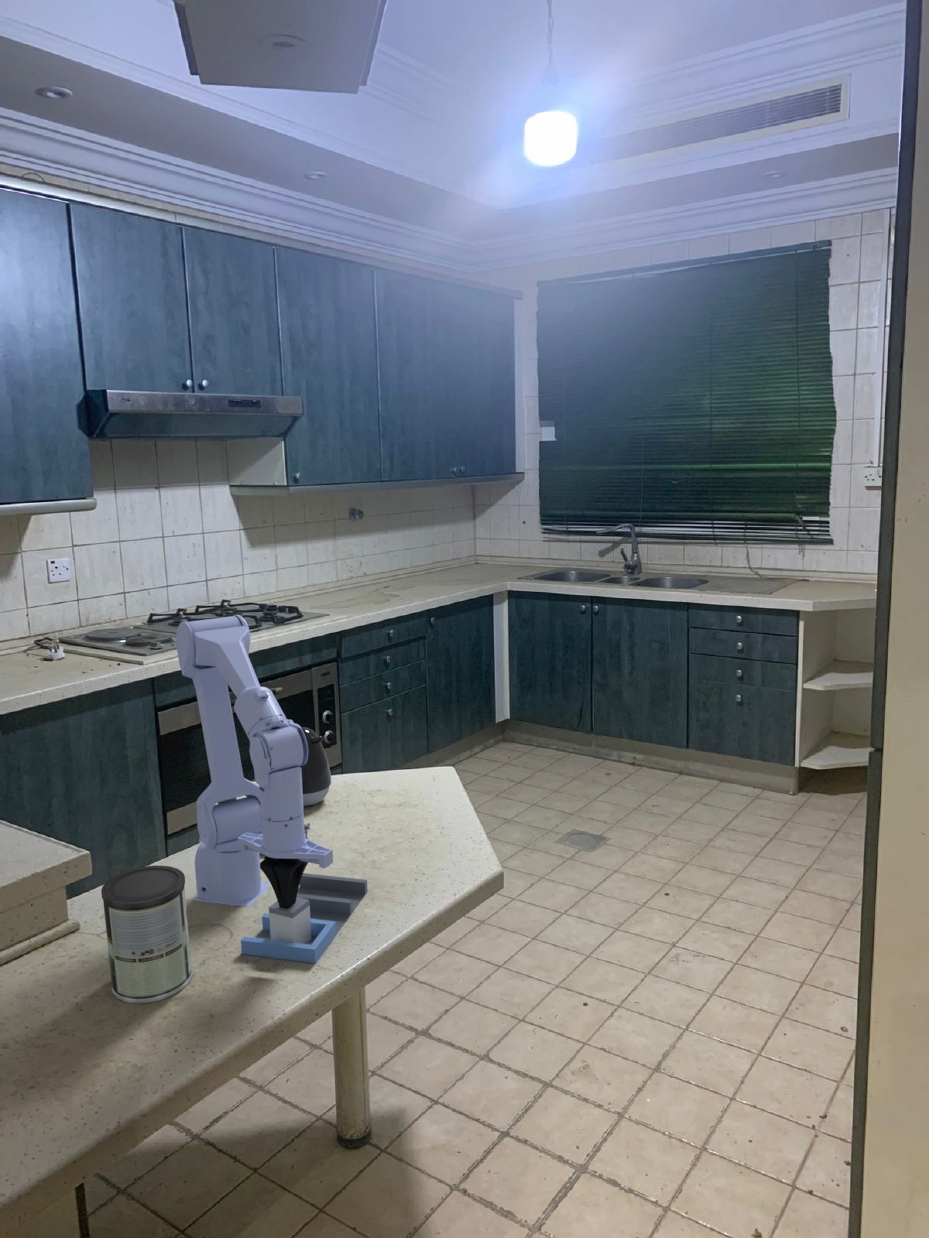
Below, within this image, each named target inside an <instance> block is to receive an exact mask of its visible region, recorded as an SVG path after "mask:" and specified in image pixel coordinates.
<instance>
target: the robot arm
mask: <svg viewBox="0 0 929 1238" xmlns="http://www.w3.org/2000/svg"><path fill="white" fill-rule="evenodd" d="M243 617H244V616H242V615H240V614H234V615H233V616H225V617H223V616H222V617H217V618H210V619H209V618H207V619H201V620H200V619H199V620H193V621H187V620H185V621H181V622H180V623H179V626H177V629H176V634H175V635H176V636H175V645H176V651H177V656H178V657H177V658H178V663H179V667H180V670H181V674H182V676H184V677H186V678H189V679H192V683H193V686H194V689H195V693H196V700H197V705H198V709H199V715H200V716H199V717H200V722H201V726H202V733H203V739H204V746H205V750H206V758H207V762H208V769H209V774H210V780H211V783H210V784H208V786H207V787H206V788H205V790H204V791H203V792H202V793H201V794H200V796H199V797H197V800H196V811H197V816H196V824H197V831H198V835H199V838H200V840H201V842H200V844H199V845H198V847H197V849H196V852H195V857H194V868H195V869H194V871H195V882H196V883H195V884H196V885H195V887H196V896H197V897H196V898H194V900H195V902H196V901H197V902H203V903H212V904H221V905H222V904H224V905H232V906H238V907H251V906H252V905H253V904H254V903H255V902H256V901H257V900H258V899H259V898H260V897H261V896H262V895H263V894H264V893H265V891H266V890H267V889H268V888H269V887H270V886H271V887H272V889H273V892H274V894H275V897H276V900H277V901H278V903H279V906H280V907H281V908H285V909H288V908H289V907H291V906H292V905H293V904H295V903H296V897H297V892H298V889H299V888H300V880H301V877H302V875H303V873H304V872H305V871H306V868H307V866H308V864H309V863H310V864H314V865H318V867H319V868H320V869H327V867H329V866H331V865H332V864H333V863H334V854H333V852H334V851H333V850H334V849H332V848H327V847H324V846H322V845H320V844H319V843H316V842H314V841H313V840H310V839H309V838H308V839H306V834H305V830H304V824H305V815H304V813H305V812H304V806H303V792H302V774H301V768H300V766H301V765H305V764H306V762H307V759H308V745H307V740H306V737H305V735H304V732H303V730H302V727H301V725H300V724H298V723H294V720H292V719H288V718H287V717H286V715H285V713H284V712H283V709H282V708H281V706H280V704H279V702H278V699H276V697H275V695H274V693H273V691H272V690H271V689H269V688H268V687H266V686H261V685H260V682H259V679H258V677H257V675H256V672H255V669H254V667H253V664H252V662H251V660H250V657H249V653H250V646H251V632H250V628H249V624H248V622H247V621H246V619H245V618H243ZM229 688H230V690H231V691H232V692H233V694H234V696H235V697H236V700H235V702H234V706H233V709H232V704H231V698H230V691H229ZM233 710H234V712H235V713H236V716H237V718H238V720H239V723H240V724H241V726H242V728H243V730H244V732H245V734H246V736H247V738H248V741H249V756H250V761H251V763H252V766H253V772H254V779H255V782H252V781H250V780H248V779H247V778H245V777H244V773H243V772H244V771H243V767H242V766H243V765H242V761H241V755H240V749H239V744H238V737H237V732H236V727H235V720H234V715H233ZM244 796H245V797H244ZM240 797H242V798H240ZM232 798H236V799H237V800H233V801H229V802H225V803H221V804H218V802H220V801H224V800H228V799H232ZM259 852H260V853H262V854H261V855H263V856H264V859H263V860H261V858H260V855H259ZM261 872H263V873H264V875H265V876H266V878H267V880H268V881H263V880H262V877H261V876H262V875H261ZM277 901H276V902H277Z"/></svg>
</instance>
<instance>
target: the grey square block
mask: <svg viewBox="0 0 929 1238" xmlns="http://www.w3.org/2000/svg"><path fill="white" fill-rule="evenodd" d="M268 914H269V919H270V935H271V940H276V941H284V942H292V943H300V944H306V943H307V942H308V941H310V940H311V921H310V902H309V900H308V899H303V898H299V897H296V903H295V904H293V905H292V906H291V907H289V908H288V909H285V908H281V907H280V906H279V903H278V901H275V902H274V903H273V904H271V905H270V906H269V907H268Z"/></svg>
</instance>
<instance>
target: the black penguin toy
mask: <svg viewBox="0 0 929 1238" xmlns="http://www.w3.org/2000/svg"><path fill="white" fill-rule="evenodd" d="M301 728H302V730H303V732H304V735H305V737H306V740H307V745H308V759H307V762H306V764H305V765H301V766H300V768H301V774H302V792H303V807H310V806H309V805H311V806H314V805H317V804H319V803H320V802H322V801H323V800H324V799H325V798H326V796H327V795H328V792H329V790H330V786H331V785H332V775H331V770H330V766H329V761H328V758H327V754H326V752H325V748H324V747H323V744H322V742H323V741H324V737H323V736H321V735H320V736H318V735H317V733H316V732H315V731H314V730H313V729H310V727H304V726H303V727H301Z"/></svg>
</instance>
